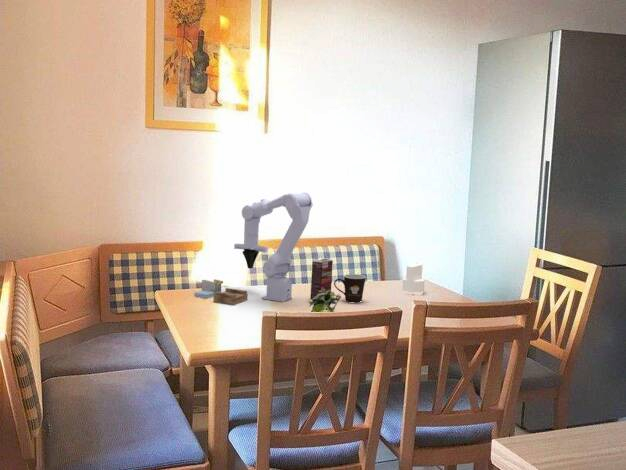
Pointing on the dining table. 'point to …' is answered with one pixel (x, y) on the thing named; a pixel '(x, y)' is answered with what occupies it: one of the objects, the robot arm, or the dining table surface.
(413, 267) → the base with upright slab
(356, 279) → the coffee mug
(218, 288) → the key
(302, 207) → the robot arm
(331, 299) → the green leafy plant
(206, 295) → the lid
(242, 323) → the dining table surface
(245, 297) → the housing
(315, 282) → the supplement box
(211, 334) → the dining table surface
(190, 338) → the dining table surface
